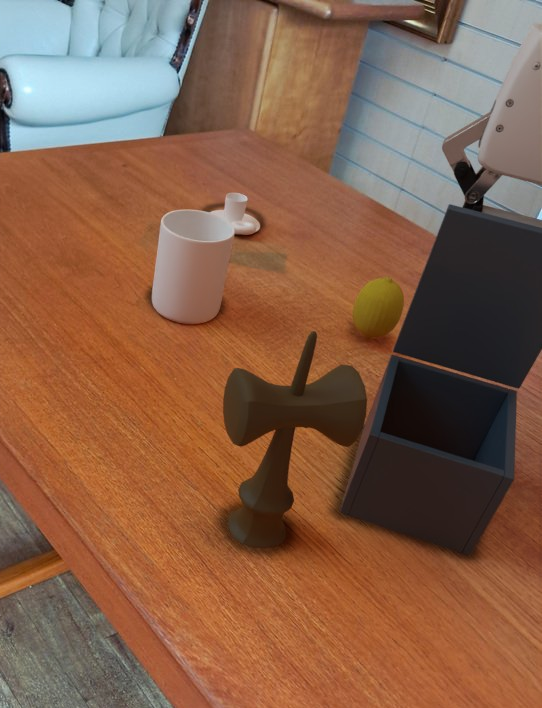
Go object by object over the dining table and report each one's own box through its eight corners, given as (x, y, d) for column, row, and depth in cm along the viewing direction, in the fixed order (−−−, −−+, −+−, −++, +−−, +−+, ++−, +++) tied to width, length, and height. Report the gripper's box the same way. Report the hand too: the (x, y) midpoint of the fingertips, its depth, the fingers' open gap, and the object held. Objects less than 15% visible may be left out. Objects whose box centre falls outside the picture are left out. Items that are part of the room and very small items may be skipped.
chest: (466, 563, 68) (514, 479, 62) (336, 520, 70) (369, 433, 63) (474, 472, 78) (517, 390, 71) (360, 436, 80) (391, 353, 73)
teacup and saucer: (257, 244, 110) (263, 215, 108) (201, 233, 111) (206, 204, 108) (261, 219, 117) (267, 192, 114) (208, 209, 117) (213, 181, 114)
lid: (600, 248, 60) (601, 213, 63) (447, 208, 61) (456, 176, 65) (519, 389, 71) (523, 353, 74) (392, 352, 73) (402, 318, 76)
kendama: (318, 558, 66) (395, 355, 53) (208, 564, 64) (259, 355, 51) (296, 508, 71) (362, 309, 57) (192, 513, 68) (235, 307, 55)
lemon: (335, 334, 94) (355, 273, 89) (362, 322, 98) (382, 261, 92) (373, 356, 92) (395, 294, 86) (399, 342, 95) (422, 281, 90)
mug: (161, 272, 100) (171, 191, 93) (225, 284, 100) (240, 204, 93) (145, 318, 91) (155, 233, 84) (215, 331, 91) (231, 247, 84)
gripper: (725, 34, 57) (600, 266, 69) (485, -16, 60) (405, 215, 72) (745, 55, 51) (606, 303, 64) (480, -1, 54) (395, 246, 66)
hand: (500, 254), depth 68 cm, fingers closed on lid, 6 cm apart
